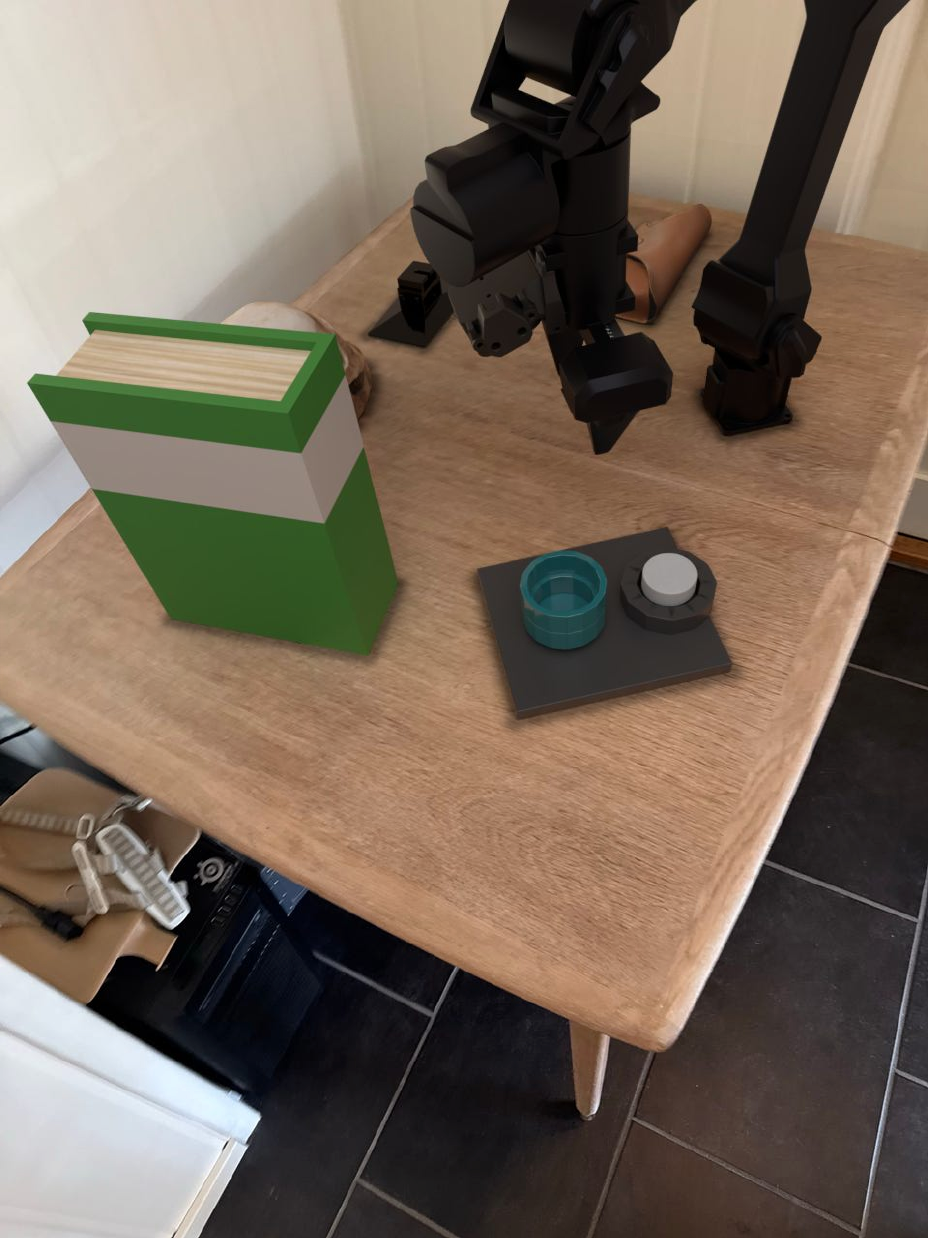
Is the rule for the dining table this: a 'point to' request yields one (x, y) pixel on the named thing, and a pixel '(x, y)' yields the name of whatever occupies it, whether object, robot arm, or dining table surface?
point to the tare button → (669, 579)
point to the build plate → (416, 308)
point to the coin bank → (300, 320)
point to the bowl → (563, 599)
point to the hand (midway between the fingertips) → (582, 412)
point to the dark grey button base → (607, 632)
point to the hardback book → (230, 473)
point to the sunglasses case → (663, 259)
